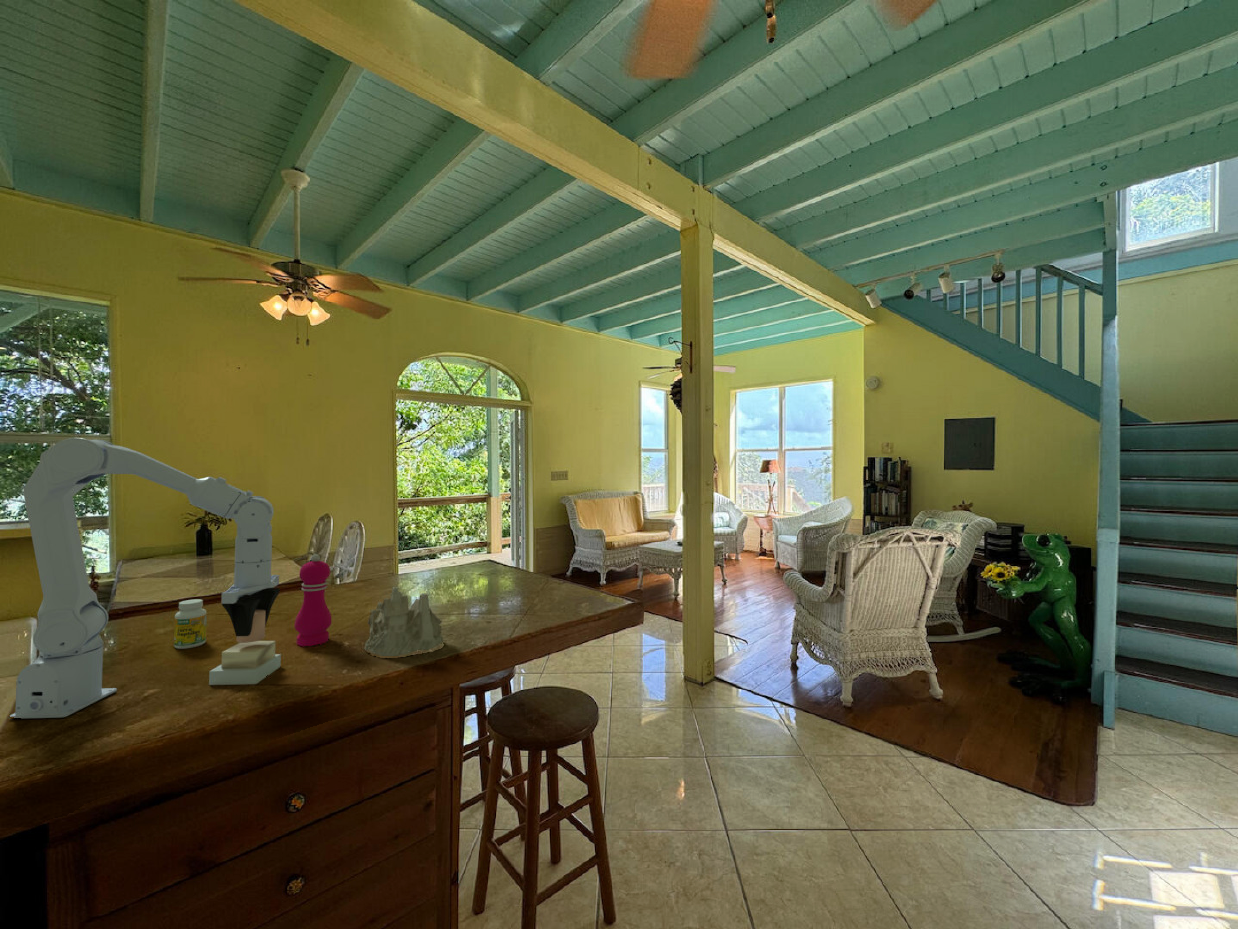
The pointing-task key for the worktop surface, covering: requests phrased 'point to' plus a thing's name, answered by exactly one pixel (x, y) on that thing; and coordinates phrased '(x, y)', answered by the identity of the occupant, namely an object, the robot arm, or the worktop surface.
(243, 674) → the grey base slab
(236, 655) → the birch top slab
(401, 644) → the grey rock mountain model
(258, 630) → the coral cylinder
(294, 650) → the worktop surface
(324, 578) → the pepper mill
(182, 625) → the supplement bottle
